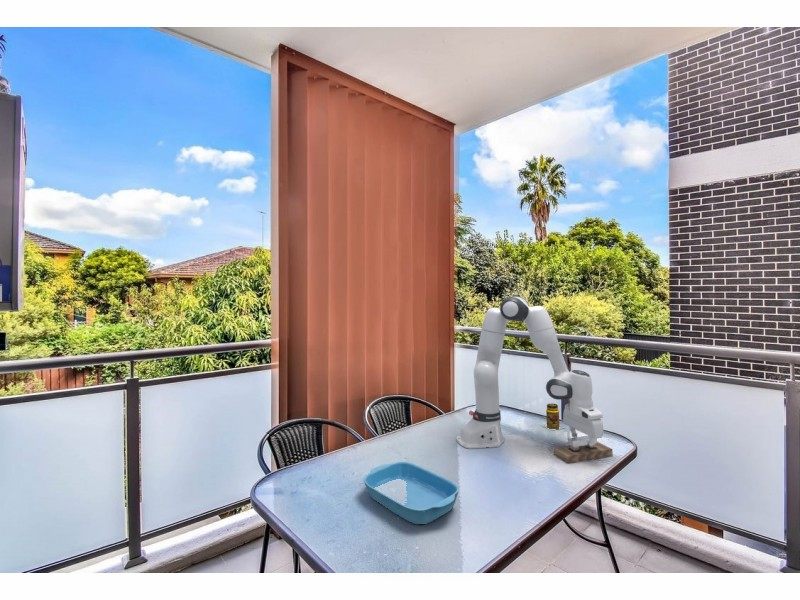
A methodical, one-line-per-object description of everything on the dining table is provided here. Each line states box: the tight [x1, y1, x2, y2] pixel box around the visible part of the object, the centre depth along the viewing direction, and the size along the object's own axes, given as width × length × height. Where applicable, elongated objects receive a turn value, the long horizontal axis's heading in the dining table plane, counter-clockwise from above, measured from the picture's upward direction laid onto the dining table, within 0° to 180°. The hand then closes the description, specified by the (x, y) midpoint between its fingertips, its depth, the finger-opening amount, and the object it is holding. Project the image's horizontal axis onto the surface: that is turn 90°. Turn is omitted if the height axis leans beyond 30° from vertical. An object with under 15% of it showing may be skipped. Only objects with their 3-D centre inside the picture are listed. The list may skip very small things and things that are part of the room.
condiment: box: [542, 403, 563, 430], centre depth 196 cm, size 7×8×12 cm
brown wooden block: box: [553, 441, 613, 465], centre depth 162 cm, size 22×9×3 cm, turn 104°
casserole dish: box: [363, 461, 460, 525], centre depth 132 cm, size 37×22×7 cm, turn 41°
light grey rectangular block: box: [567, 435, 598, 452], centre depth 162 cm, size 12×3×8 cm, turn 104°
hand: (582, 441), depth 162 cm, fingers open, 8 cm apart
